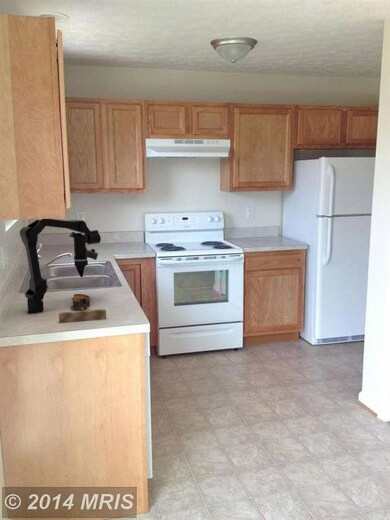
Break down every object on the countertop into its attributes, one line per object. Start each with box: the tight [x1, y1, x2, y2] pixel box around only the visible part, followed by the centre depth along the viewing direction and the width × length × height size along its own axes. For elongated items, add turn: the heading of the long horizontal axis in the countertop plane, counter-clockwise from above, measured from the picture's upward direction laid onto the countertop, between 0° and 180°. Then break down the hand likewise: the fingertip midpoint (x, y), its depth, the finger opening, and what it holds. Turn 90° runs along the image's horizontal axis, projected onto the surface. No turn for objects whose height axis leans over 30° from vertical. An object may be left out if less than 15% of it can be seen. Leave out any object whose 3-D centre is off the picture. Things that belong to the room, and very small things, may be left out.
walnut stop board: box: [58, 308, 107, 324], centre depth 207 cm, size 20×2×4 cm, turn 105°
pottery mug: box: [70, 293, 91, 311], centre depth 225 cm, size 12×10×8 cm
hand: (81, 276), depth 234 cm, fingers open, 3 cm apart
